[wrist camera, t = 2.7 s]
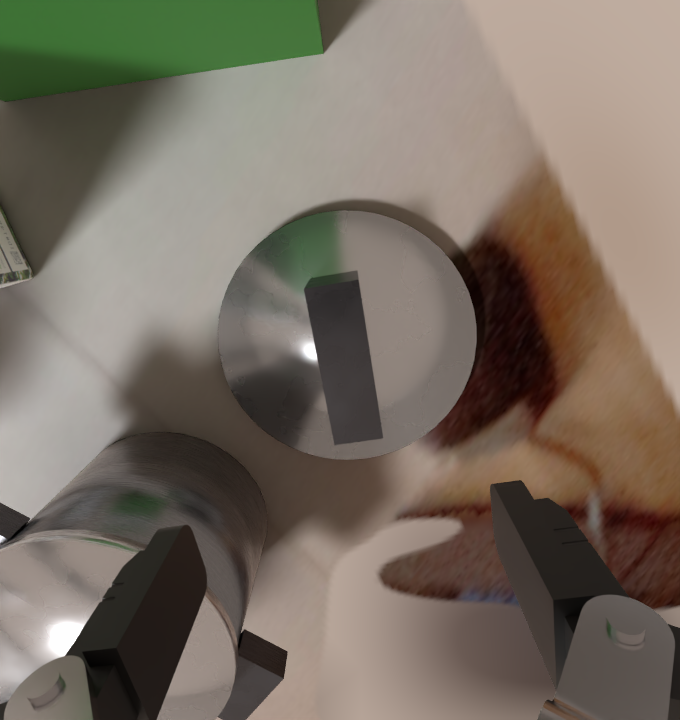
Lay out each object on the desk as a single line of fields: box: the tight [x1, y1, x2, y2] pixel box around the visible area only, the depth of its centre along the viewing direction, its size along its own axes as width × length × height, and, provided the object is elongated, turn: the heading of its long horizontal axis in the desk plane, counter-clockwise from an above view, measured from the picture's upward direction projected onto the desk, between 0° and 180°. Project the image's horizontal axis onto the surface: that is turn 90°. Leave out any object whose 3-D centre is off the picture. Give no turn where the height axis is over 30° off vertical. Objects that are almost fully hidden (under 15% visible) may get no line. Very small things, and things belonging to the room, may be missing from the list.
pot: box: [0, 432, 287, 720], centre depth 27 cm, size 19×15×11 cm
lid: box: [218, 210, 477, 460], centre depth 26 cm, size 16×16×5 cm
